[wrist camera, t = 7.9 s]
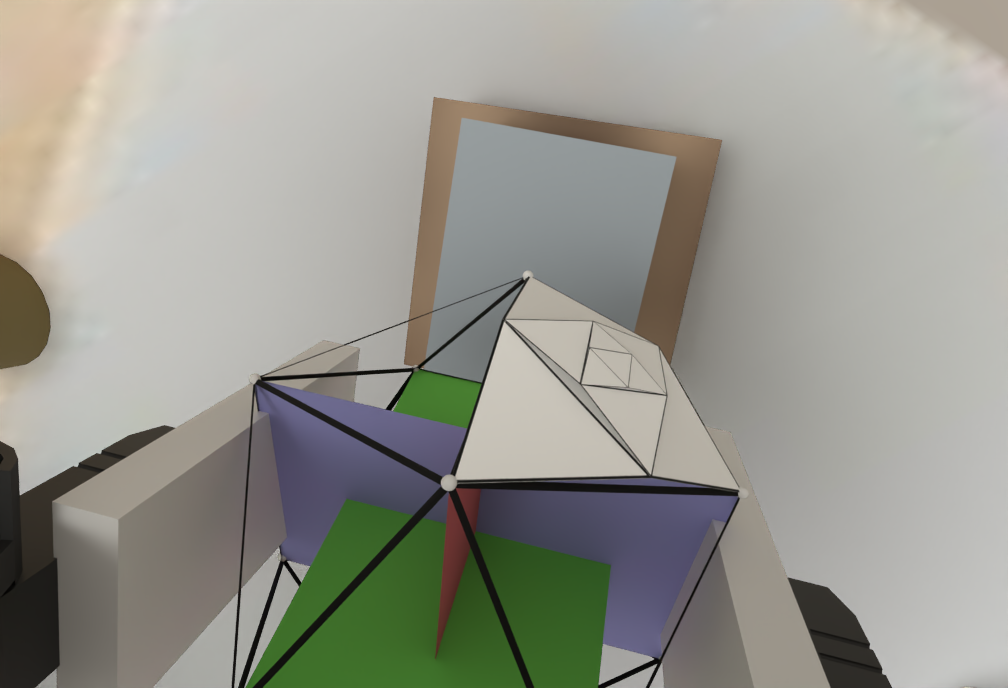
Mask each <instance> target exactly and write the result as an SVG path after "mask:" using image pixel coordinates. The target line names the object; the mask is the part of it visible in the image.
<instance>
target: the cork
mask: <svg viewBox="0 0 1008 688" xmlns="http://www.w3.org/2000/svg"><path fill="white" fill-rule="evenodd" d="M49 332H50V318H49V309H48V306H47V304H46V301H45V298H44V296H43V293H42V291H41V289H40V288H39V287H38V285H37V284H36V282H35V281H34V279H33V278H32V276H31V275H30V274H29V273H28V272H26V271H25V270H24V269H23V268H22V267H21V266H20V265H19V264H18V263H16V262H14V261H12V260H10V259H8V258H6V257H4V256H2V255H0V369H3V368H9V367H14V366H19V365H25V364H27V363H29V362H31V361H32V360H34V359H35V358H37V357H38V356H39V355H40V353H41V352H42V350H43V349H44V347H45V346H46V344H47V341H48V336H49Z"/></svg>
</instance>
